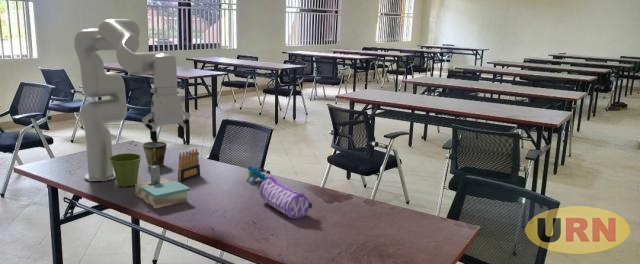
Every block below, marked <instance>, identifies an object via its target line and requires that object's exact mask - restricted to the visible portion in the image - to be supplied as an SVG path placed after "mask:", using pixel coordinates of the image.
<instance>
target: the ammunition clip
mask: <svg viewBox="0 0 640 264" xmlns="http://www.w3.org/2000/svg"><path fill="white" fill-rule="evenodd" d="M198 177H201V166H200V161H199V152H198V148H195V149H194V148H193V149H192V150H191V149H189V152H188V151H187V150H186V151H185V152H184V151H182V152H179V155H178V169H177V182H179V181H180V182H179V183H183V182H186V181H189V180H192V179H195V178H198Z"/></svg>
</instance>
